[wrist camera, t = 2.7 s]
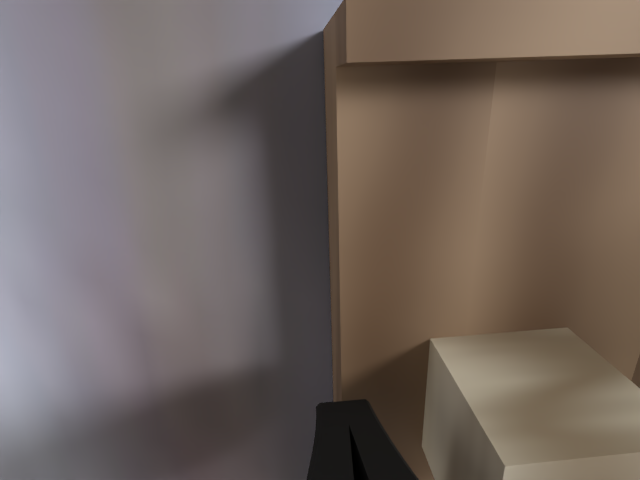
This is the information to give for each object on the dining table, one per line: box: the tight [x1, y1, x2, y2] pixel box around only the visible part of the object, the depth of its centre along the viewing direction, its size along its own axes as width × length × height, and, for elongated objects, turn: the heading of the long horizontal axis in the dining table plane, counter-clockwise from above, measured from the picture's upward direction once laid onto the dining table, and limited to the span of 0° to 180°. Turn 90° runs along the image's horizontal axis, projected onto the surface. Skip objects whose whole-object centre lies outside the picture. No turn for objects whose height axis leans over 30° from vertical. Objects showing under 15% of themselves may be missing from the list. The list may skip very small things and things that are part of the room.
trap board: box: [323, 0, 640, 480], centre depth 12 cm, size 18×20×6 cm
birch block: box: [422, 328, 640, 480], centre depth 10 cm, size 4×4×4 cm
